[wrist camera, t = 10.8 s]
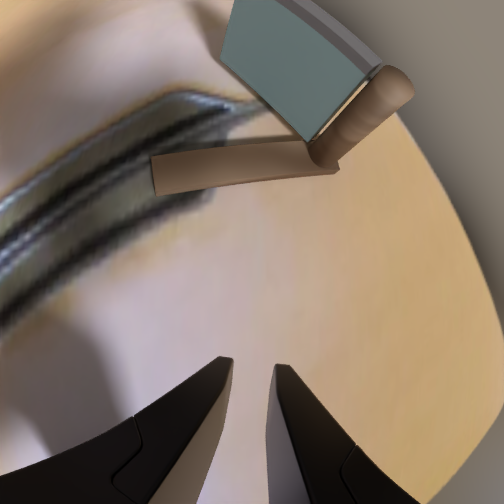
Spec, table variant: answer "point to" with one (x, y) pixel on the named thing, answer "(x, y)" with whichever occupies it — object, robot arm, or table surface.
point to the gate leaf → (296, 59)
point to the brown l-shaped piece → (286, 145)
